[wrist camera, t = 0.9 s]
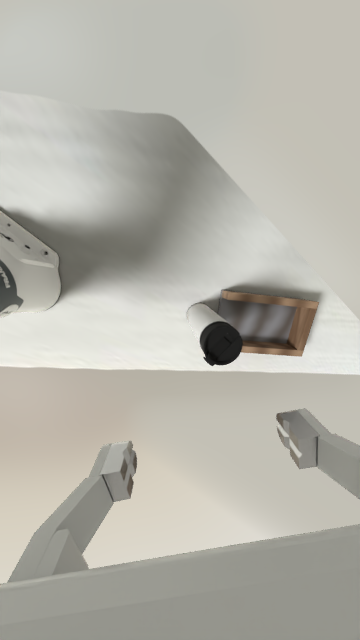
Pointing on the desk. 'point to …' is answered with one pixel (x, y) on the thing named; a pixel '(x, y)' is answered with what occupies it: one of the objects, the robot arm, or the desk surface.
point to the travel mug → (214, 335)
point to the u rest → (268, 321)
